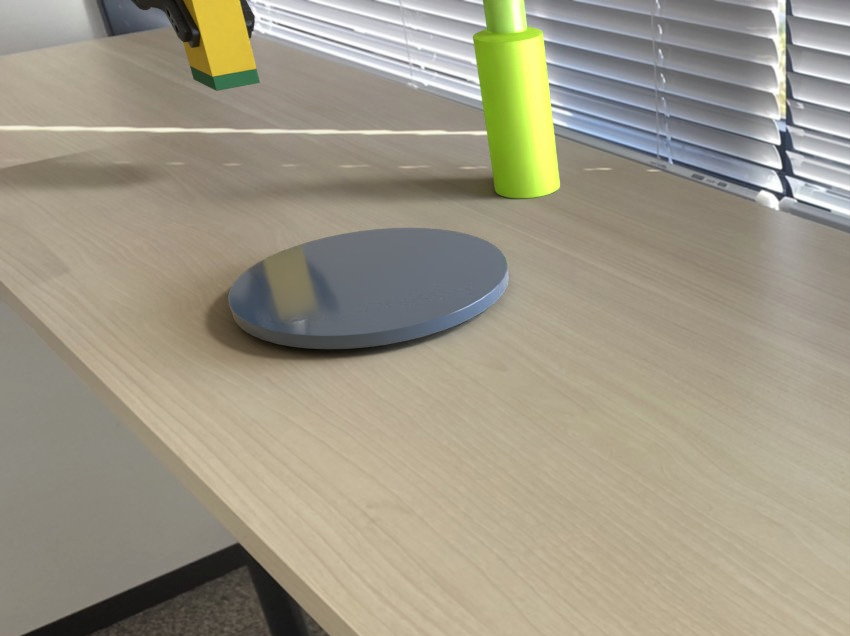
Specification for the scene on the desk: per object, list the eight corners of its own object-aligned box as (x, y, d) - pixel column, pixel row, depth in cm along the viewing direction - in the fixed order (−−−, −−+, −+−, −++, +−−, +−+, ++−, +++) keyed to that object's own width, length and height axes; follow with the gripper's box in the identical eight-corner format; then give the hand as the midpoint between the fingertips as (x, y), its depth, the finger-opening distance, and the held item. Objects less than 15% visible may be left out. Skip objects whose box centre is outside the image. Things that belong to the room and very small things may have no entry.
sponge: (216, 91, 102) (189, -8, 98) (193, 79, 106) (166, -17, 101) (260, 82, 104) (236, -15, 100) (236, 71, 108) (212, -23, 103)
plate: (365, 383, 75) (360, 361, 74) (175, 317, 84) (168, 296, 83) (565, 277, 89) (562, 257, 88) (382, 230, 98) (378, 211, 97)
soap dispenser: (507, 206, 102) (471, -48, 90) (488, 183, 107) (451, -60, 95) (571, 195, 103) (544, -54, 92) (549, 173, 109) (521, -66, 97)
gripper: (43, -160, 95) (140, 21, 95) (215, -172, 102) (305, -3, 102) (48, -92, 101) (139, 78, 101) (210, -108, 109) (295, 51, 108)
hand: (222, 36), depth 101 cm, fingers closed on sponge, 4 cm apart
